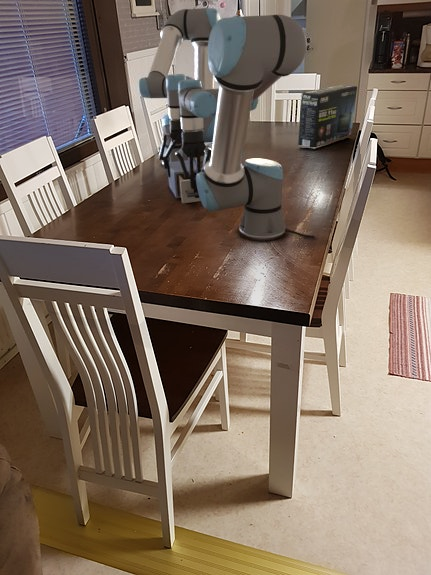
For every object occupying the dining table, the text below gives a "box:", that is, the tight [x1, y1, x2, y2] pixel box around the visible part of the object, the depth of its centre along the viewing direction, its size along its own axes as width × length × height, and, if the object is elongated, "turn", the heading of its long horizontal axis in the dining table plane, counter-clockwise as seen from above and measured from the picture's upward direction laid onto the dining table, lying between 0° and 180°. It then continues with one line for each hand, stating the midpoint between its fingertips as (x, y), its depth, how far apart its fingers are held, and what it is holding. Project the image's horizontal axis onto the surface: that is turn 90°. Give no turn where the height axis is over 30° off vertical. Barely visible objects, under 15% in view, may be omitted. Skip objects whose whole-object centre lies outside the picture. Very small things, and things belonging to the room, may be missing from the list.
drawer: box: [176, 172, 201, 204], centre depth 173 cm, size 21×10×8 cm, turn 15°
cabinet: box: [167, 159, 202, 199], centre depth 184 cm, size 17×11×10 cm, turn 15°
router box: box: [297, 84, 358, 151], centre depth 238 cm, size 36×11×27 cm, turn 134°
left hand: (183, 174), depth 187 cm, fingers closed on cabinet, 11 cm apart
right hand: (196, 196), depth 167 cm, fingers closed
